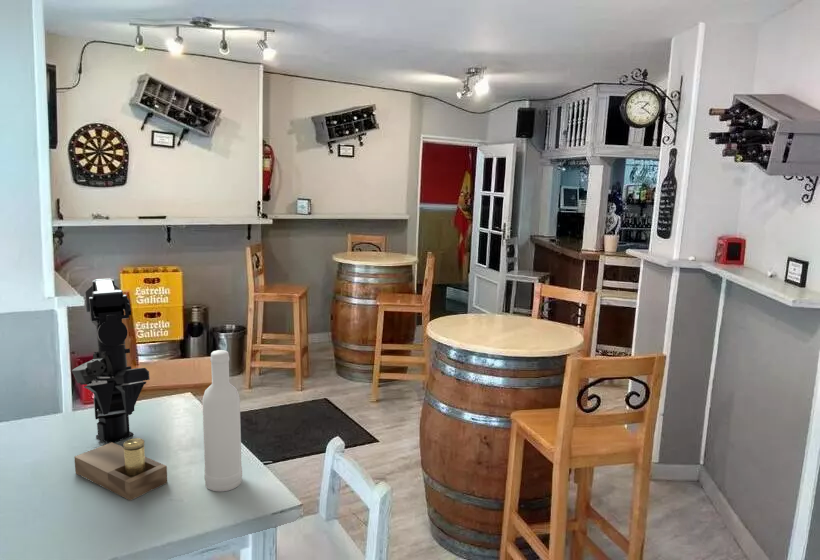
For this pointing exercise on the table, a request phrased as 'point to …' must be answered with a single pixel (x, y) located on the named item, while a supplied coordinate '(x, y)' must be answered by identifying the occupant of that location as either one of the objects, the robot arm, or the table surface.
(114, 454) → the jig
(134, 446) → the disc
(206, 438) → the bottle
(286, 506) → the table surface
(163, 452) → the table surface
